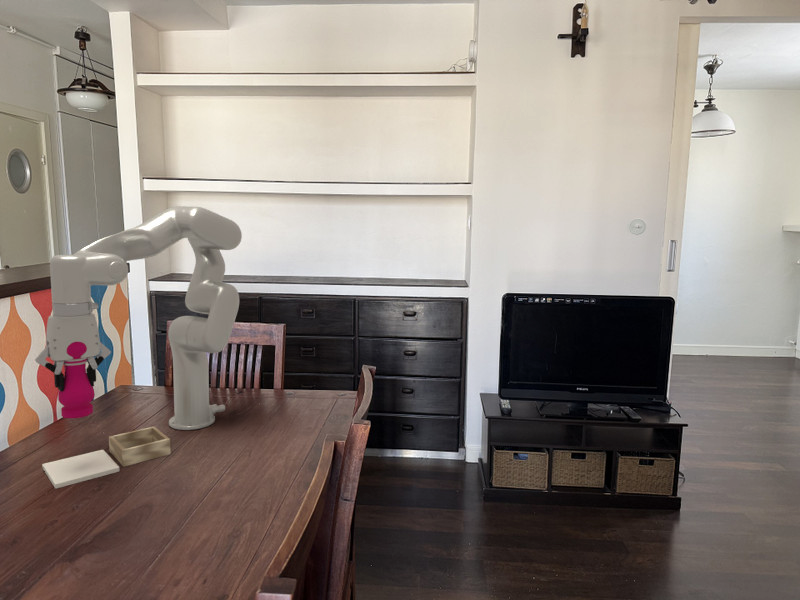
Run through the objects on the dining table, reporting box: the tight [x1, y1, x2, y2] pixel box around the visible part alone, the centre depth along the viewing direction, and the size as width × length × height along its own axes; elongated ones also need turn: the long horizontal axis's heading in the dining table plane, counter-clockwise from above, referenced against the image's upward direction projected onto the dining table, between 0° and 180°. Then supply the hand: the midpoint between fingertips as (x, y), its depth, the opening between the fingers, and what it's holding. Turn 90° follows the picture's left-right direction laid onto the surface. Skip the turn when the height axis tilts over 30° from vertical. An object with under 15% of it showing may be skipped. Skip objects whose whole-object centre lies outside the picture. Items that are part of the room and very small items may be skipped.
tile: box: [41, 449, 120, 490], centre depth 126 cm, size 13×13×1 cm
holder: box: [108, 426, 171, 467], centre depth 136 cm, size 11×11×4 cm
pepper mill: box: [57, 342, 96, 419], centre depth 123 cm, size 7×7×20 cm
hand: (76, 386), depth 124 cm, fingers closed on pepper mill, 5 cm apart
